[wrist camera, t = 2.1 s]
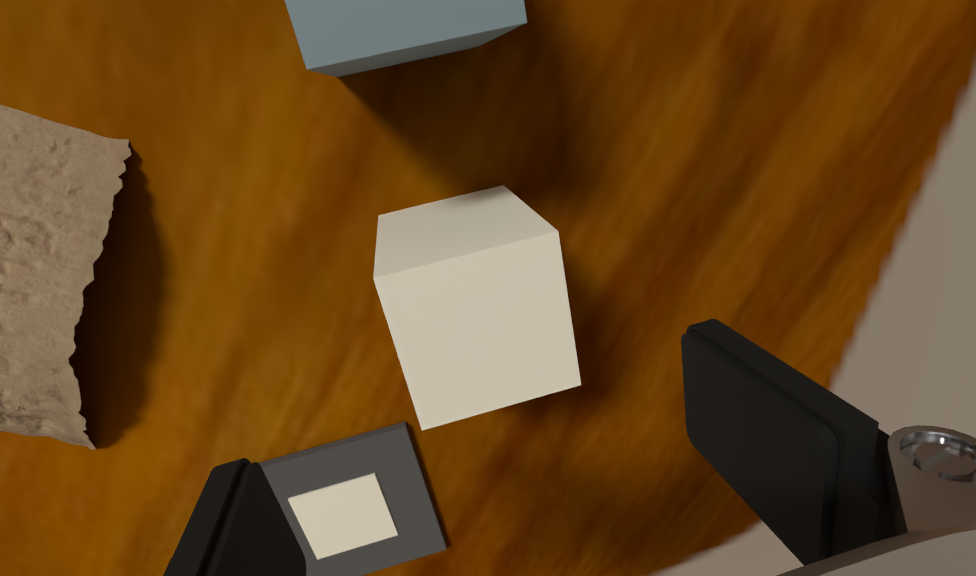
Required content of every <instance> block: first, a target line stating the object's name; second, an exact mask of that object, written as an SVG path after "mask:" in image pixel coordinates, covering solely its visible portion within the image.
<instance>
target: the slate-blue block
mask: <svg viewBox="0 0 976 576" xmlns="http://www.w3.org/2000/svg"><path fill="white" fill-rule="evenodd" d="M285 3H286V6H287V9H288V12H289V15H290V18H291V22H292V25H293V28H294V31H295V34H296V37H297V40H298V43H299V47H300V50H301V53H302V56H303V59H304V62H305V65H306V68H307V70H311V71H315V72H319V73H323V74H327V75H331V76H335V77H341V76H345V75H350V74H354V73H359V72H364V71H368V70H373V69H378V68H382V67H387V66H392V65H396V64H401V63H405V62H410V61H415V60H419V59H424V58H429V57H433V56H438V55H443V54H447V53H452V52H456V51H461V50H466V49H470V48H475V47H478V46H480V45H482V44H484V43H486V42H488V41H491V40H493V39H495V38H497V37H499V36H501V35H503V34H505V33H507V32H509V31H511V30H513V29H515V28H517V27H519V26H521V25H523V24H525V23H527V18H526V11H525V4H524V0H285Z"/></svg>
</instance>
